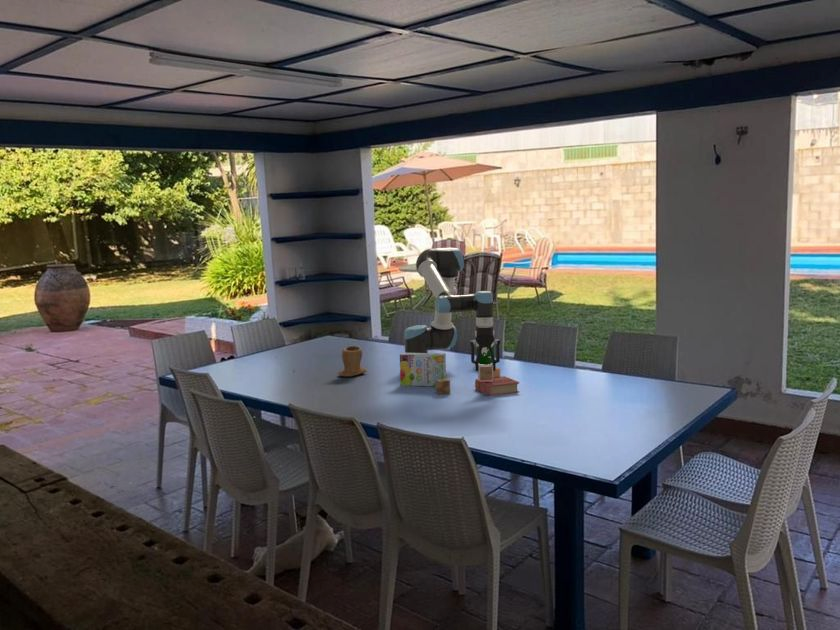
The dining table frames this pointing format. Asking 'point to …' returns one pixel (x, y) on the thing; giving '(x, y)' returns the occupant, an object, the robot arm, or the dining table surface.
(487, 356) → the milk carton
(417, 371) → the snack box
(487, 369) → the block
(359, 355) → the orange vase
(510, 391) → the book
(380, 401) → the dining table surface
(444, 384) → the block
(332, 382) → the dining table surface
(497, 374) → the tan rounded glossy cylinder
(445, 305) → the robot arm
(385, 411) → the dining table surface
